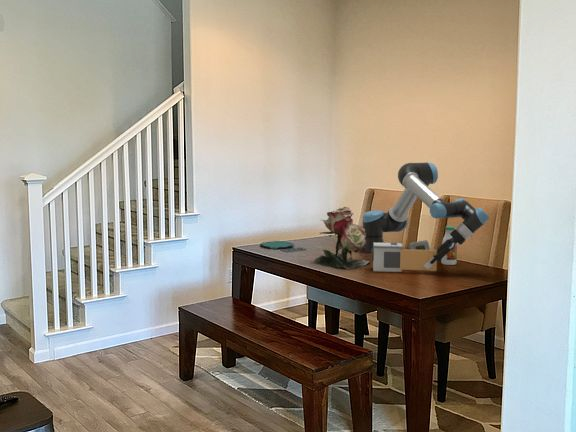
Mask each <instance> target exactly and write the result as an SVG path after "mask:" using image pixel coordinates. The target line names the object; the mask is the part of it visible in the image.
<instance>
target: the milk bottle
mask: <svg viewBox="0 0 576 432" xmlns="http://www.w3.org/2000/svg"><path fill="white" fill-rule="evenodd" d="M454 229H455V226H452V225H447V226H445V234H444V236H443V238H442V242H441V245H442V244H443V243H444V242H445V241H446V240H448V239H451V238H452V236H451V235H450V233H451V232H452V231H453V230H454ZM457 252H458V242H457V243H456V244H455V247H454V249H452V250H451V251H450V252H449V253H447V254H446V255H445V256H444V257H443V258H442V259H441V260H440V263H441V265H446V266H450V265H451V266H455V265H457V259H458V258H457V257H458V255H457V254H458V253H457Z"/></svg>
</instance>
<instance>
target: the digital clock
mask: <svg viewBox="0 0 576 432" xmlns="http://www.w3.org/2000/svg"><path fill="white" fill-rule="evenodd" d="M408 249H409V250H431V247H430V243H429V241H428V240H418V241H413V242H410V243H408Z"/></svg>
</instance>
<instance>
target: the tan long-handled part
mask: <svg viewBox="0 0 576 432" xmlns="http://www.w3.org/2000/svg"><path fill="white" fill-rule="evenodd" d="M436 254H437V249H430V250H409V248H408V249H405V248H403V249H400V270H402V271H429V272H437V270H438V269H437V262H435V263H434V264H433V265H432V266H431V267H430V268H429V269H428V270H427V269H426V268H425V267H424V266H423V265H425V264H426V263H427V262H428V261H429V260H430V259H431V258H432V257H433V255H434V256H435V255H436Z"/></svg>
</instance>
